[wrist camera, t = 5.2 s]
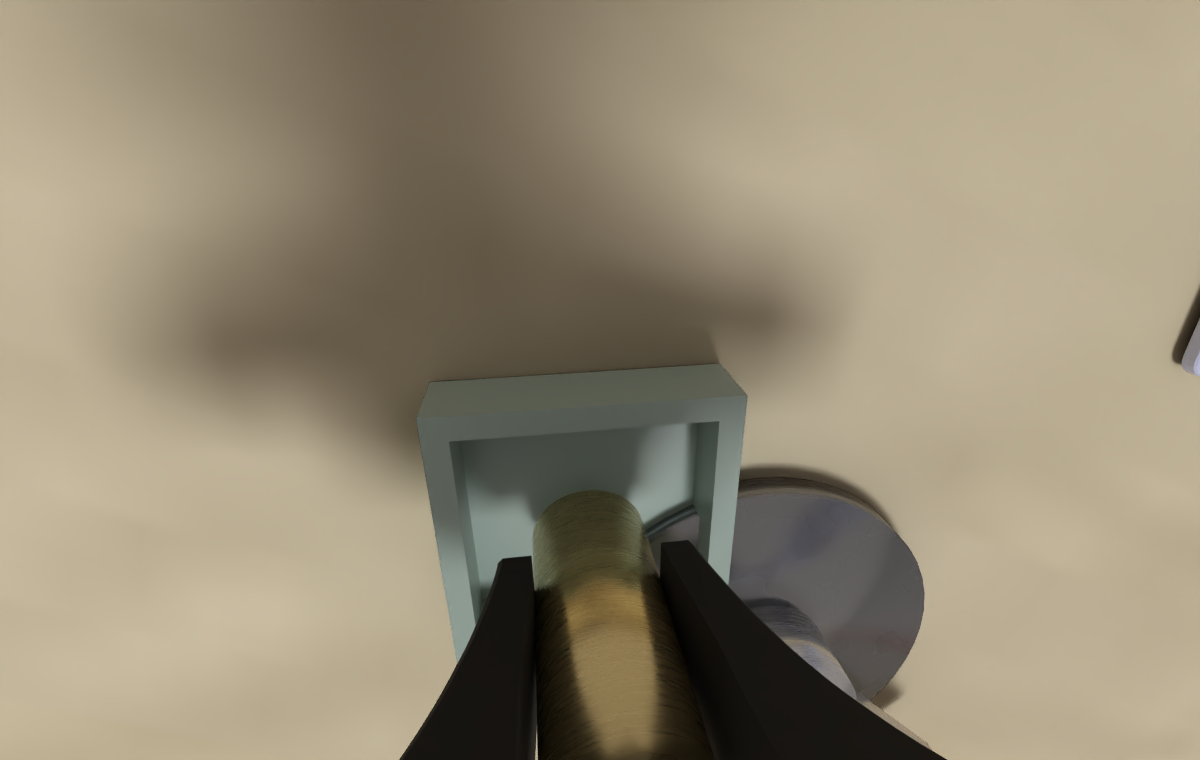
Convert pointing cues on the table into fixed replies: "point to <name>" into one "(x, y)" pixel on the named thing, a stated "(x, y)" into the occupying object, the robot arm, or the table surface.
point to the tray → (574, 462)
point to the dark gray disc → (821, 570)
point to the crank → (818, 654)
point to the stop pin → (607, 640)
